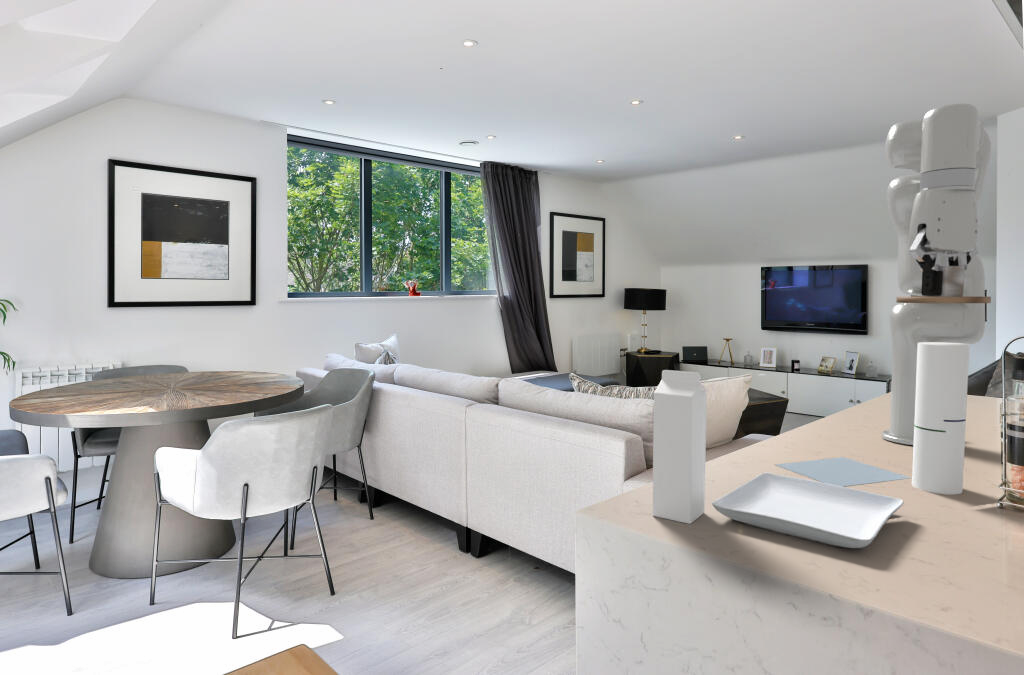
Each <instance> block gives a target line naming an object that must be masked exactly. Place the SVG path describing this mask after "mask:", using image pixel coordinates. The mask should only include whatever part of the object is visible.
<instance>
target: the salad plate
mask: <svg viewBox="0 0 1024 675" xmlns="http://www.w3.org/2000/svg"><path fill="white" fill-rule="evenodd" d="M711 505H712V506H713V508H714V509H715V510H716V512H719V513H720V514H721V515H723V516H724V517H727V518H729V519H731V520H734V521H737V522H739V523H740V522H741V523H744V524H746V525H749V526H753V527H757V528H761V529H765V530H768V531H773V532H778V533H781V534H785V535H788V534H789V536H793V537H798V538H801V539H805V540H810V541H814V542H817V541H818V543H822V544H827V545H830V546H835V547H841V548H847V549H862V548H865V547H867V546H869V545H870V544H871V543H872V542H873V541H874V539H875V538H876V537H877V535H879V532H880V531H881V529H882V528H883V527H884V525H885V523H886V522H887V521H888V519H890V518H891V517H892V516H893V515H894V514H895V513H896V512H898V510H899V509H900V508H901V507H903V505H904V500H903V499H901V498H898V497H893V496H889V495H884V494H879V493H875V492H871V491H870V492H869V491H865V490H861V489H855V488H851V487H848V486H846V487H842V486H837V485H832V484H827V483H822V482H820V481H817V480H813V479H806V478H800V477H793V476H787V475H782V474H778V473H777V474H776V473H772V472H768V471H767V472H766V471H765V472H762V473H760V474H758V475H757V476H755V477H753V478H751V479H750V480H748V481H746V482H745V483H743V484H741V485H740V486H738V487H736V488H735V489H733V490H731V491H730V492H727V493H726V494H725V495H722V496H721V497H719V498H717V499H716V500H714V501H713V502H712V504H711Z"/></svg>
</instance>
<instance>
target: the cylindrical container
mask: <svg viewBox="0 0 1024 675" xmlns="http://www.w3.org/2000/svg"><path fill="white" fill-rule="evenodd" d="M969 359H970V344H962V343H946V342H920V343H918V349H917V373H916V396H915V420H914V424H915V425H914V444H913V445H912V447H913V448H912V451H913V454H912V469H911V470H912V473H911V475H912V476H911V486H912V487H913V488H915V489H918V490H921V491H922V492H923V491H924V492H928V493H931V494H932V493H934V494H939V495H959V494H962V493H963V489H964V488H963V487H964V486H963V485H964V466H965V447H966V446H965V445H966V428H967V426H966V424H967V422H966V421H967V402H968V384H969V383H968V382H969V365H970V364H969V361H970V360H969Z"/></svg>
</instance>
